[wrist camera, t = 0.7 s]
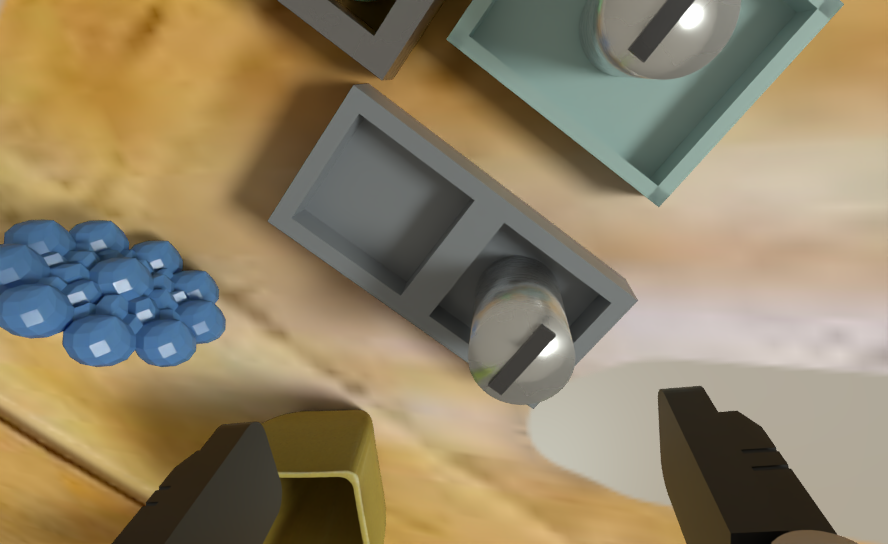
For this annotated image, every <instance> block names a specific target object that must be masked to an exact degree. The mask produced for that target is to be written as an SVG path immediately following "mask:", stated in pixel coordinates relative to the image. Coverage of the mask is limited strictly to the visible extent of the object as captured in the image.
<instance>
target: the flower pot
mask: <svg viewBox="0 0 888 544" xmlns="http://www.w3.org/2000/svg"><path fill="white" fill-rule="evenodd" d="M261 425H262V426H263V428H264V430H265V432H266V435H267V439H268V442H269V445H270V448H271V452H272V455H273V458H274V461H275V465H276V468H277V471H278V474H279V478H280V481H281V486H282V501H281V506H280V510H279V513H278V515H277V517H276V519H275V521H274V523H273V525H272V527H271V529H270V531H269V533H268V535H267V536H266V538H265V540H264V542H263V544H384V536H385V527H386V507H385V498H384V491H383V485H382V480H381V474H380V469H379V462H378V456H377V450H376V444H375V437H374V429H373V423H372V420H371V417H370V416H369V414H368V413H367V412H365V411H363V410H337V411H300V412H294V413H289V414H285V415H281V416H278V417H275V418H273V419H270V420H268V421H266V422H264V423H262V424H261Z"/></svg>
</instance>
